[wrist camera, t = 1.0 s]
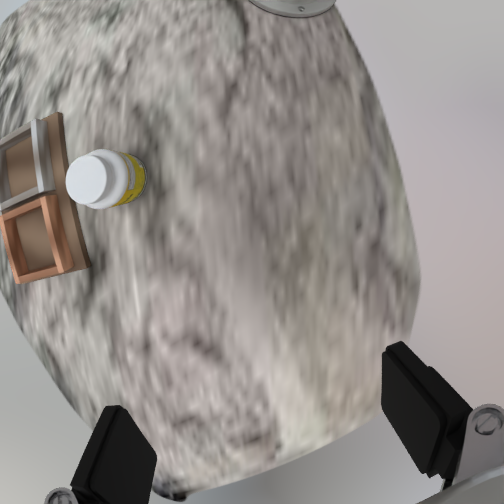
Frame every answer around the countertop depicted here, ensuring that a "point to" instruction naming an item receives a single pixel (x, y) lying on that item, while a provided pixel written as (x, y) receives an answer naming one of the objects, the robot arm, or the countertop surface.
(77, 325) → the countertop surface
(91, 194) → the supplement bottle
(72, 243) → the board
